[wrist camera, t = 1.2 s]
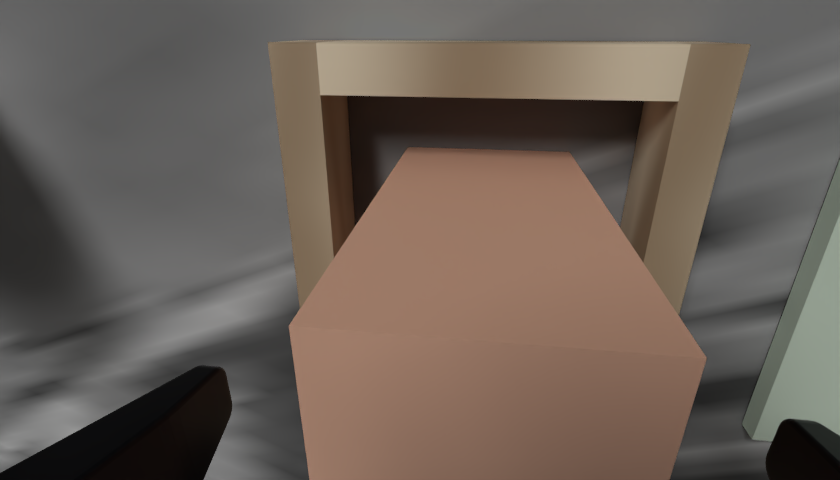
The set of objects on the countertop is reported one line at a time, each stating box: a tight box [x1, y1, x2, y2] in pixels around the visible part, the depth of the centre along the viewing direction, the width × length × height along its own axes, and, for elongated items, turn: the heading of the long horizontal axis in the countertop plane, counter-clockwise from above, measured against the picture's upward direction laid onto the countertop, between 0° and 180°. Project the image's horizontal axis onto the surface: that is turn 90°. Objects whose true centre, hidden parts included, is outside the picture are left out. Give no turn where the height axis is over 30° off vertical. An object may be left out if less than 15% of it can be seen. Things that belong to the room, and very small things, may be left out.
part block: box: [289, 147, 707, 480], centre depth 9 cm, size 4×6×8 cm, turn 0°
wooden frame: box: [268, 40, 751, 316], centre depth 12 cm, size 9×11×2 cm
